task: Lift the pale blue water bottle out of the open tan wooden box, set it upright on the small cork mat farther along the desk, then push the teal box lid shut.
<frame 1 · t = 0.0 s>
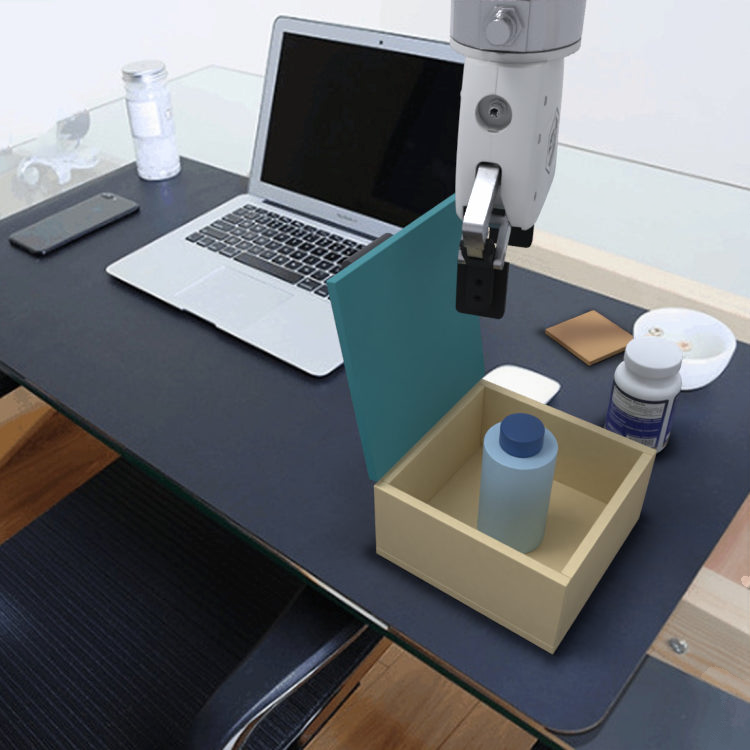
hand: (496, 276, 56), 21 cm above the table, tool pointing down, fingers open, 9 cm apart
coaster mat: (591, 339, 86), on the table
pill bottle: (634, 438, 74), on the table
teal box lid: (398, 330, 60), point 16 cm above the table, hinge at 100.0°
tan wooden box: (509, 535, 65), on the table
water bottle: (510, 529, 64), point 1 cm above the table, touching tan wooden box
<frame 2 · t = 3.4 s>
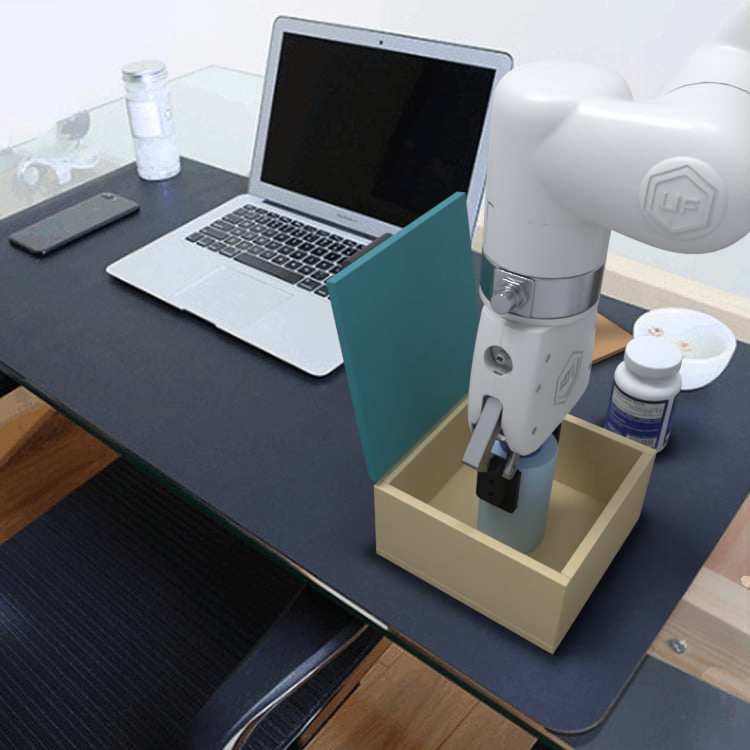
hand: (516, 476, 61), 7 cm above the table, tool pointing down, fingers closed on water bottle, 5 cm apart
water bottle: (510, 529, 64), point 1 cm above the table, touching tan wooden box, gripper
everything else where it was.
when the fingers open (7 cm above the table, at t = 13.5 s): water bottle stays where it is, resting on coaster mat.
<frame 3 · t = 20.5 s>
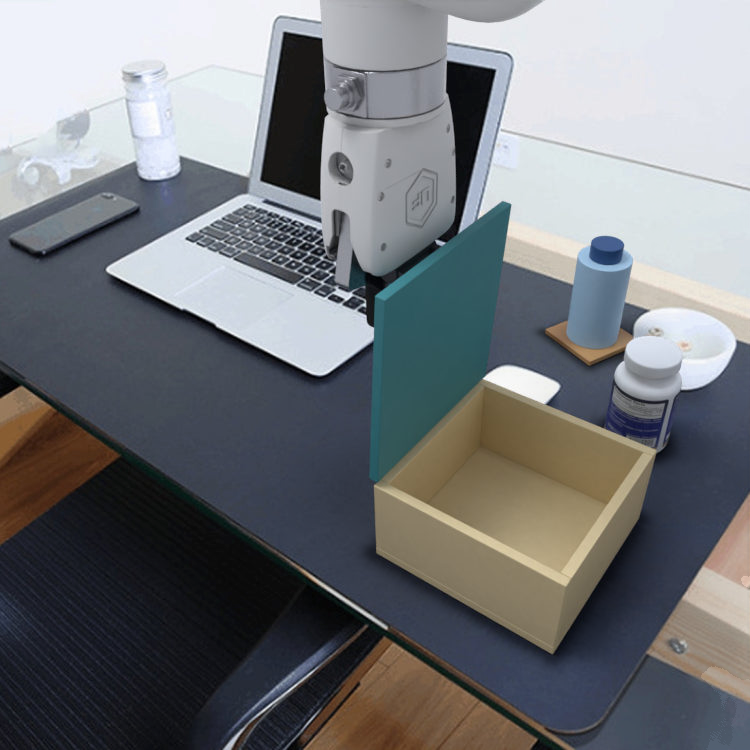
hand: (389, 326, 61), 16 cm above the table, tool pointing down, fingers closed
teal box lid: (419, 333, 59), point 17 cm above the table, hinge at 86.3°, touching gripper
water bottle: (591, 334, 86), point 1 cm above the table, touching coaster mat
everything else where it was.
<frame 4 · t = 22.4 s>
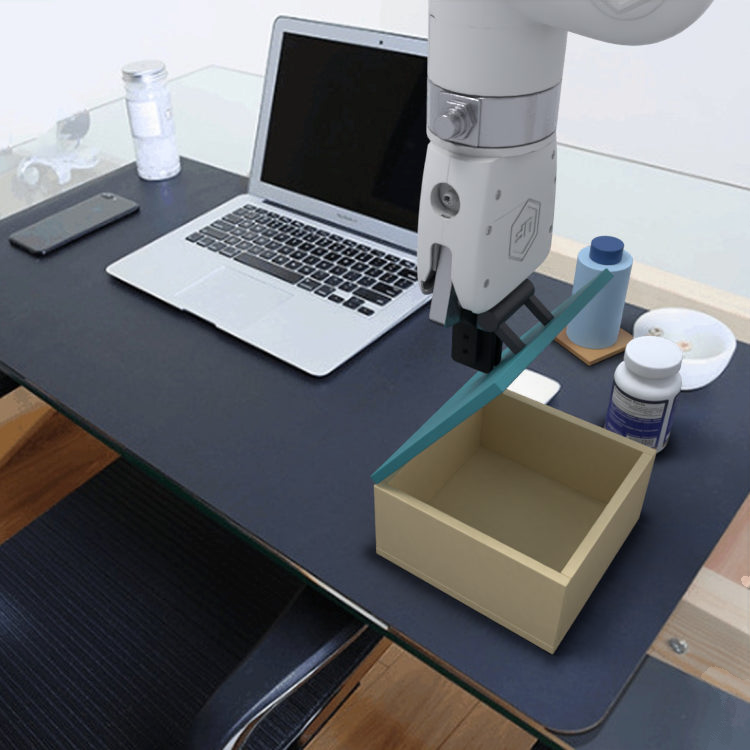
hand: (475, 361, 57), 16 cm above the table, tool pointing down, fingers closed
teal box lid: (471, 360, 57), point 16 cm above the table, hinge at 54.5°, touching gripper
everything else where it was.
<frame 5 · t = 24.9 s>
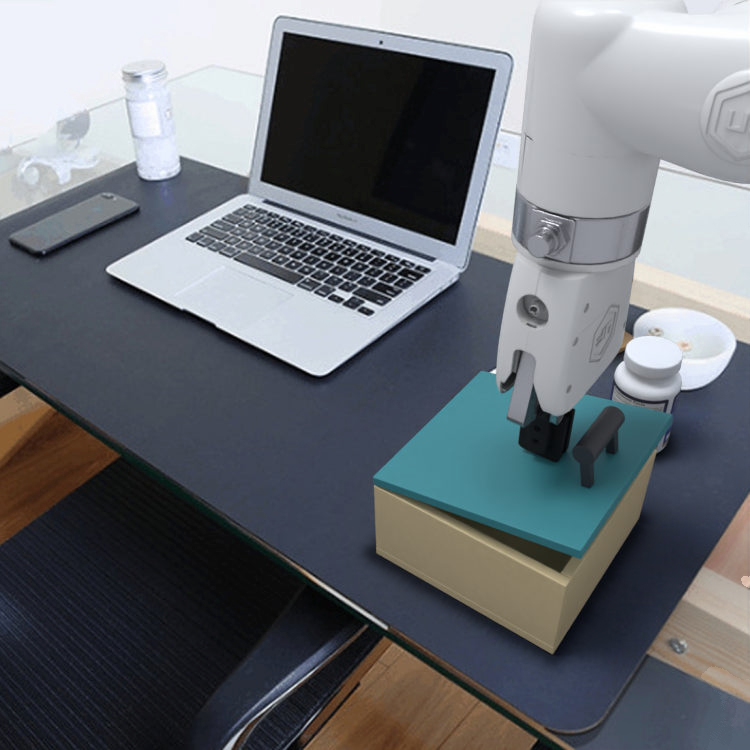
hand: (542, 448, 57), 11 cm above the table, tool pointing down, fingers closed
teal box lid: (521, 430, 58), point 12 cm above the table, hinge at 10.7°
everything else where it was.
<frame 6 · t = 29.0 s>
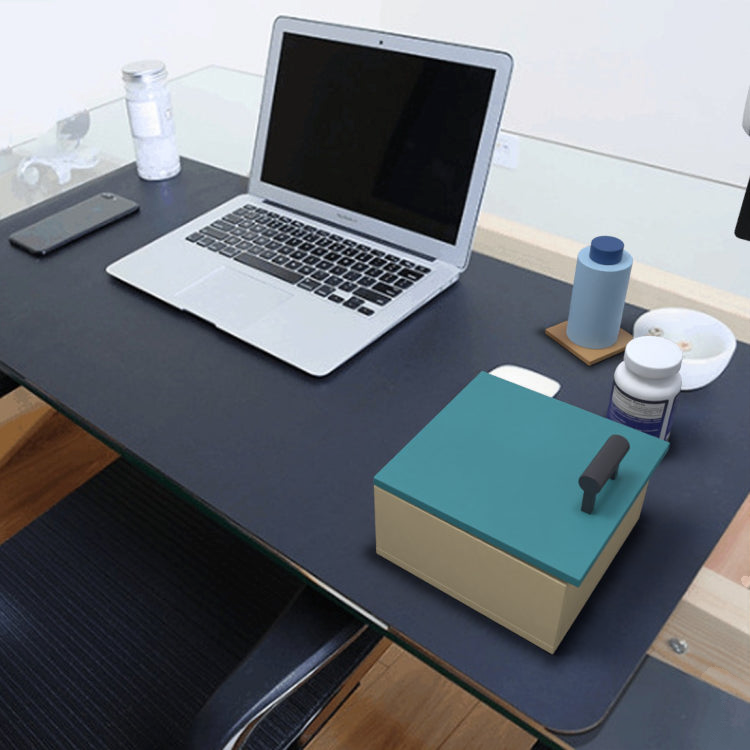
teal box lid: (524, 445, 58), point 10 cm above the table, hinge at 1.3°
everything else where it was.
at the end: water bottle 0.0 cm off-centre on the coaster mat, point 0.6 cm above the coaster mat's base; water bottle tilted 0°; teal box lid at +1° (first picture: +100°) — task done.
